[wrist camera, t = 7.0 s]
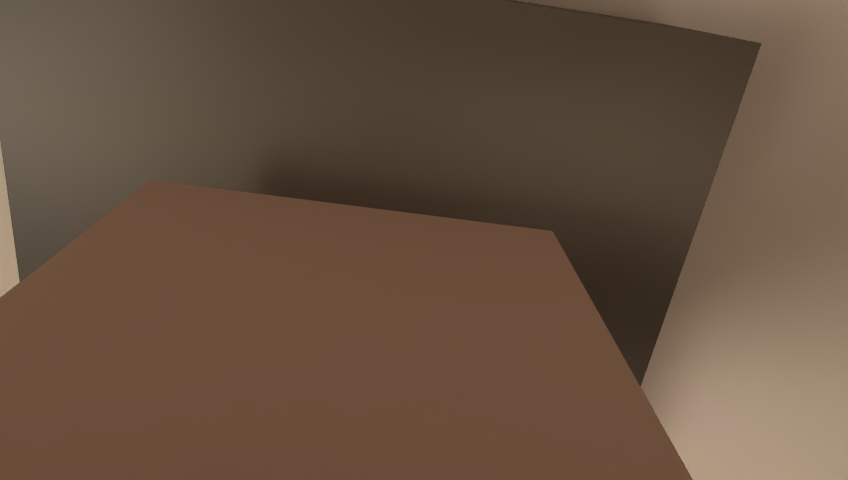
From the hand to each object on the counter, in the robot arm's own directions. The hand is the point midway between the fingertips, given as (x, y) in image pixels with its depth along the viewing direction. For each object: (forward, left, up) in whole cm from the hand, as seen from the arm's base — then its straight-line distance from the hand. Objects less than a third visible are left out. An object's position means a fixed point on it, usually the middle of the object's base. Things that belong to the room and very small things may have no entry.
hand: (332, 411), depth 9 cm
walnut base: (0, 0, -6) cm, 6 cm away
